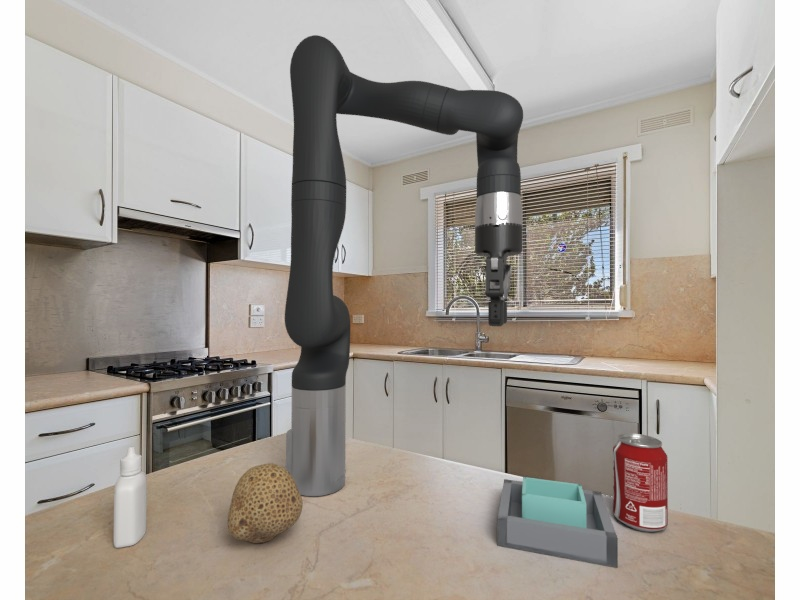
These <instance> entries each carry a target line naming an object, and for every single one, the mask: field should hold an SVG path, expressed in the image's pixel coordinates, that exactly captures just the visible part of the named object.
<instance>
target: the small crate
mask: <svg viewBox="0 0 800 600" xmlns="http://www.w3.org/2000/svg"><path fill="white" fill-rule="evenodd" d="M522 482H523V486H522V518H526V519H532V520H538V521H544V522H550V523H557V524H563V525H569V526H575V527H581V528H586V501H585V497H584V493H583V490H584V489H583V485H582V484H579V483H574V482H573V483H571V482H565V481H557V480H550V479H542V478H533V477H526V476H523V477H522Z"/></svg>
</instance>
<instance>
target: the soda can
mask: <svg viewBox="0 0 800 600" xmlns="http://www.w3.org/2000/svg"><path fill="white" fill-rule="evenodd" d="M617 439H618V440H617V441H616V443H615V444H614V446H613V447H612V448H613V449H612V462H613V463H612V478H613V479H612V487H613V489H612V490H613V491H612V506H613V507H612V512H613V515H614V517H615V518H616V519H617V520H618V521H619V522H621V523H622V524H624V525H625V526H627V527H628V528H631V529H633V530H636V531H639V532H643V533H656V532H659V531H664V530H666V529H667V527H668V521H669V519H668V517H669V516H668V515H669V513H668V509H669V507H668V504H669V503H668V502H669V501H668V496H669V495H668V476H669V475H668V472H669V471H668V470H669V469H668V454H667V453H666V452H665V450H664V448H663V447H662V446H663V442H662V441H661V440H660V439H658V438H656V437H653V436H651V435H646V434H640V433H633V432H632V433H631V432H629V433H628V432H627V433H625V432H624V433H620V434H619V435H618V436H617Z"/></svg>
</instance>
